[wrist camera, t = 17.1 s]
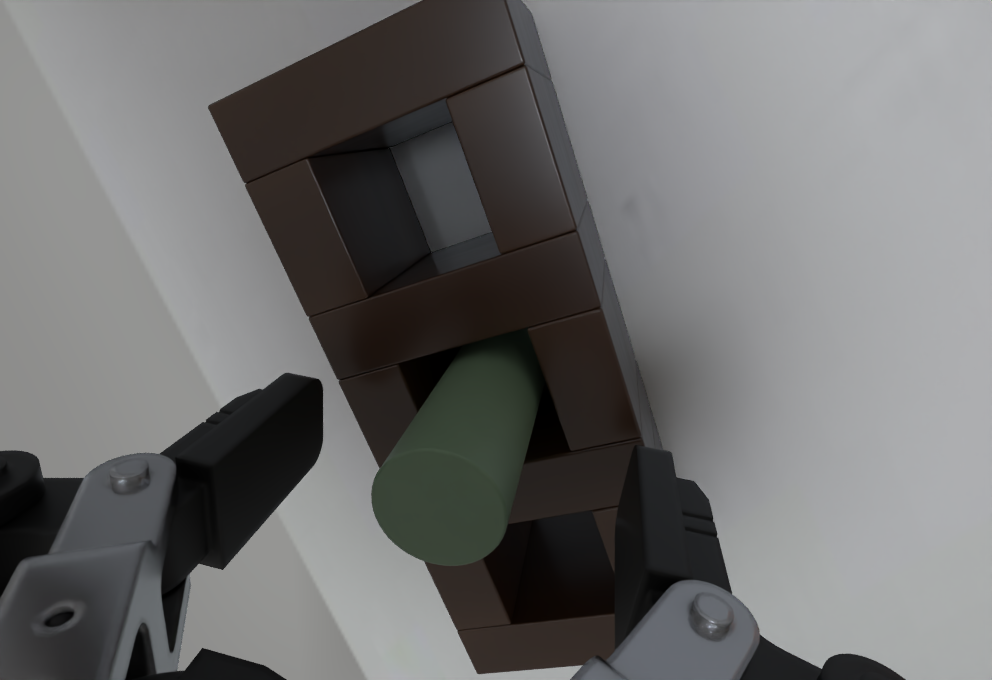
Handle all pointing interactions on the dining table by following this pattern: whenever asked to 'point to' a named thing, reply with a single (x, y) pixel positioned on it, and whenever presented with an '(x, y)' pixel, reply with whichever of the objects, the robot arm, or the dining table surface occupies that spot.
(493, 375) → the peg
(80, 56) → the dining table surface
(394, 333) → the peg block
